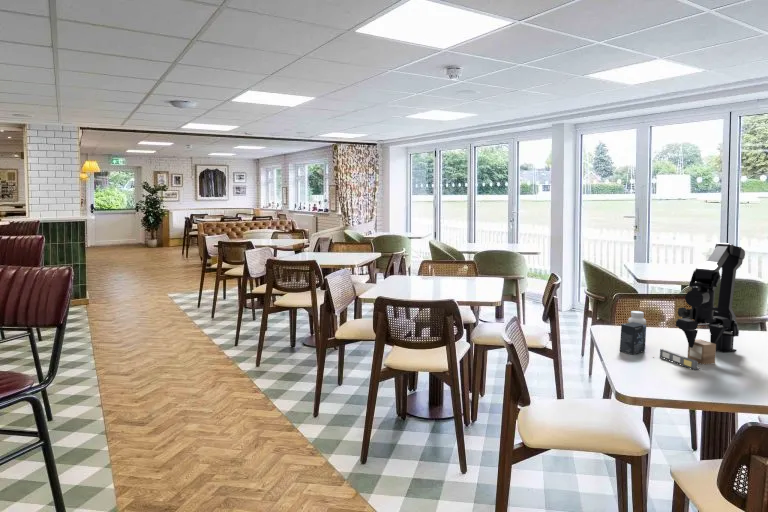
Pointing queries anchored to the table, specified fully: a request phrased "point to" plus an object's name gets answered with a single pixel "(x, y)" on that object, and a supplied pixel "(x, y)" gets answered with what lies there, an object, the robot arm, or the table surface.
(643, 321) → the supplement bottle
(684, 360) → the rail
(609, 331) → the table surface
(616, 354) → the table surface
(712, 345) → the tea box
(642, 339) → the box
